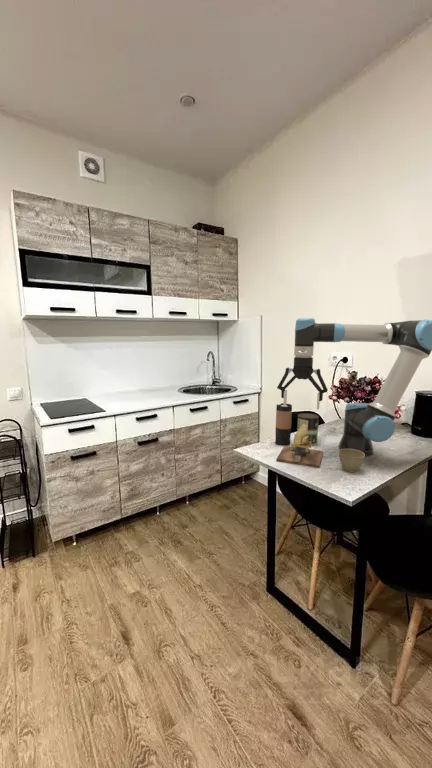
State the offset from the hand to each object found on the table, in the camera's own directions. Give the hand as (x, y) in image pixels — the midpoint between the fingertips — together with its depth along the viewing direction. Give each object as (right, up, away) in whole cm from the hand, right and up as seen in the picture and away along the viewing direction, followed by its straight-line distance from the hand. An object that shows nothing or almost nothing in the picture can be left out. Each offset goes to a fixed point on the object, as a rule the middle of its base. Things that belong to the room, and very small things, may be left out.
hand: (301, 407), depth 139 cm
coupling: (+2, -19, +10) cm, 21 cm away
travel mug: (-2, -21, +28) cm, 35 cm away
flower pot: (+20, -26, -2) cm, 33 cm away
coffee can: (+11, -20, +30) cm, 38 cm away
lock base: (+2, -23, +10) cm, 26 cm away
